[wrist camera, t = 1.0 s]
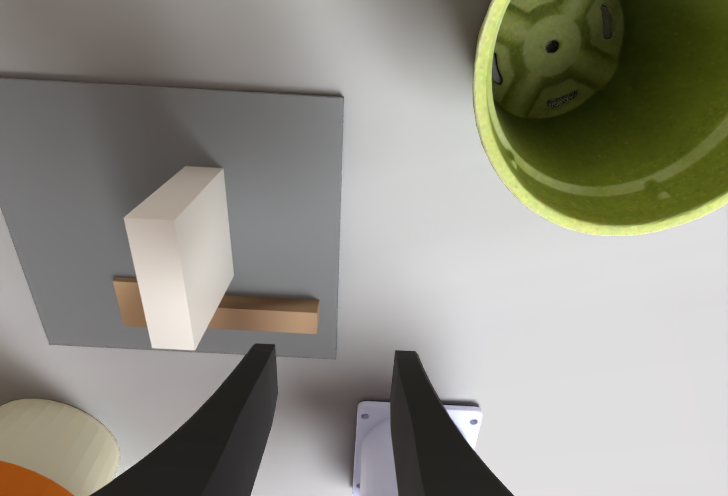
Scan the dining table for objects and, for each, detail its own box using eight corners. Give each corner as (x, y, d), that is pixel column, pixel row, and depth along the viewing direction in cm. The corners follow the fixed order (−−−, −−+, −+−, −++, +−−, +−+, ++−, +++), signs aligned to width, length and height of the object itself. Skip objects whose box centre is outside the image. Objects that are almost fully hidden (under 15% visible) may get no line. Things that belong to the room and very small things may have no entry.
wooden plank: (319, 288, 24) (317, 300, 23) (319, 331, 26) (316, 345, 25) (116, 277, 24) (104, 289, 23) (127, 321, 26) (117, 335, 25)
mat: (336, 354, 27) (335, 359, 27) (53, 340, 27) (49, 344, 27) (343, 97, 20) (343, 98, 20) (-39, 75, 20) (-46, 76, 20)
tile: (234, 275, 24) (195, 350, 19) (199, 273, 24) (151, 348, 19) (223, 168, 21) (174, 220, 16) (184, 166, 21) (122, 217, 16)
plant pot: (475, 186, 22) (530, 280, 14) (400, -15, 18) (421, -34, 10) (676, 102, 20) (865, 160, 12) (640, -144, 16) (887, -286, 8)
